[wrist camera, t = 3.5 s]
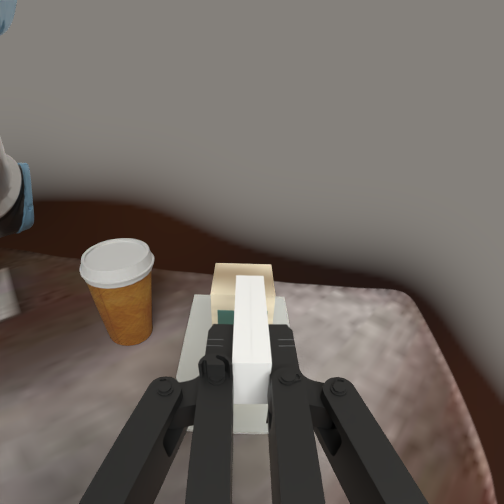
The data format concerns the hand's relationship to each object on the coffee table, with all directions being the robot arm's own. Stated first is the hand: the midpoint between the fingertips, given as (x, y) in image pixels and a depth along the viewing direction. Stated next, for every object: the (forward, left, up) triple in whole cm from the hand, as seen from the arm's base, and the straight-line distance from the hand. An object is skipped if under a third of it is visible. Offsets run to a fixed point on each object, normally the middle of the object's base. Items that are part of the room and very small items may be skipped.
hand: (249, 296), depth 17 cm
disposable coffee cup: (-22, -5, -18) cm, 29 cm away
